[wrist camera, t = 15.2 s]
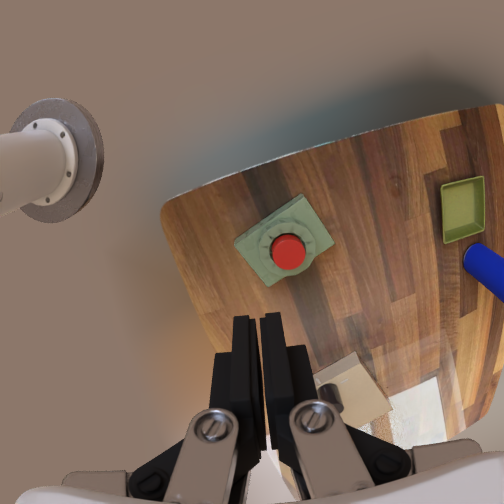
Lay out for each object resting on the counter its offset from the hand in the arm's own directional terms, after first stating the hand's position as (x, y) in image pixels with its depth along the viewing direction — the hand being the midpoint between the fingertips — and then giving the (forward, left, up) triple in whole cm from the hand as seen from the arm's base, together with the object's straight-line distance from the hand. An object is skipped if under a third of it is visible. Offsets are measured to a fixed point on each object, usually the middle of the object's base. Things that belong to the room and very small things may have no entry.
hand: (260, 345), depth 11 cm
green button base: (0, -7, -27) cm, 28 cm away
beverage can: (+24, -28, -27) cm, 46 cm away
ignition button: (0, -7, -23) cm, 25 cm away
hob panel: (-8, -39, -27) cm, 48 cm away
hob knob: (-8, -32, -24) cm, 41 cm away
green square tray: (+24, -18, -27) cm, 41 cm away
